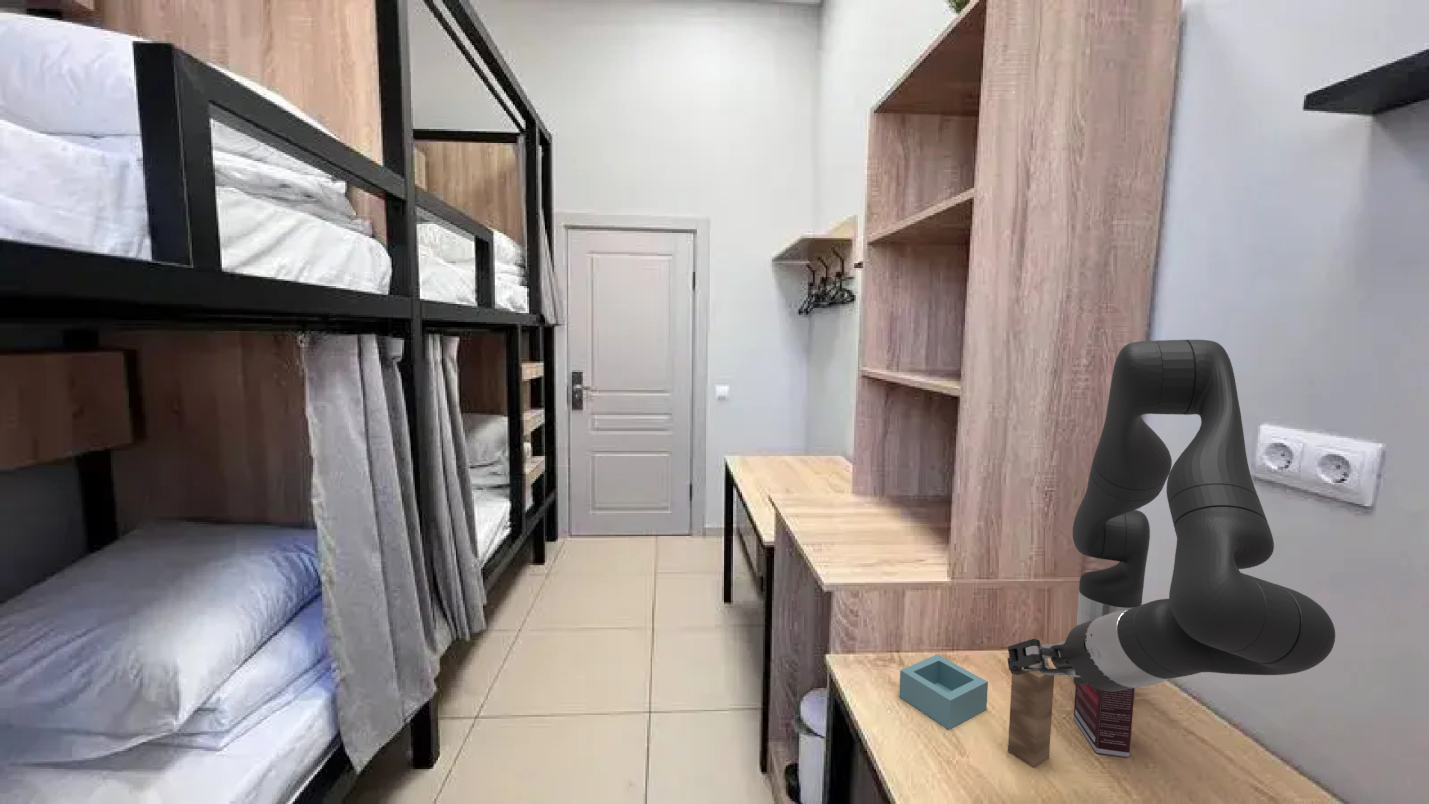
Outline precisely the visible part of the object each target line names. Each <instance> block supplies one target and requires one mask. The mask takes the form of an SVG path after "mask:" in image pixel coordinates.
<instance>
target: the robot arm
mask: <svg viewBox="0 0 1429 804" xmlns="http://www.w3.org/2000/svg"><path fill="white" fill-rule="evenodd" d="M1109 389H1110V390H1109V395H1108V400H1107V401H1108V403H1107V406H1106V407H1107V408H1106V414H1105V418H1104V419H1105V420H1104V425H1103V427H1102V431H1101V434H1100V436H1099V437H1100V438H1099V440H1098V445H1097V446H1096V449H1095V452H1094V456H1093V458H1092V463H1091V466H1090V467H1091V468H1090V473H1089V477H1088V482H1087V487H1086V490H1085V493H1084V496H1083V498H1082V500H1081V501H1080V505H1079V507H1078V509H1077V511H1076V514H1075V517H1074V521H1073V526H1072V541H1073V544H1074V546H1075V548H1076V550H1077V551H1078V552H1079V553H1080V554H1082V555H1084V556H1086V557H1090V558H1094V559H1100V560H1108V561H1114V562H1118V563H1117V564H1115V565H1113V566H1110V567H1106V568H1104V569H1098V570H1092V571H1088V572H1084V573H1083V574H1082V575H1081V576H1080V578H1079V584H1078V601H1077V614H1076V616H1077V617H1076V618H1077V619H1076V625H1075V626H1074V627H1072V629H1071V630H1070V631H1069V633H1068V635H1067V636H1066V639H1065V640H1061V641H1059V642H1058V643H1044V644H1041V641H1040V640H1039V639H1036V638H1032V639H1028V640H1025V641H1022V642H1018V643H1016V644H1012V645H1009V646H1007V651H1008V658H1007V666H1008V671H1010V673H1011V675H1012V674H1015V675H1019V674H1023V673H1026V672H1030V671H1040V672H1041V673H1043V674H1045V675H1054V676H1067V677H1069V678H1072V680H1073V684H1074V685H1075V686H1076V685H1086V684H1090V685H1091V686H1093V687H1095V688H1097V689H1100V690H1103V691H1108V692H1116V691H1121V690H1127V689H1133V688H1135V689H1137V688H1143V687H1149V686H1154V685H1158V684H1162V683H1164V682H1166V681H1168V680H1172V679H1176V678H1181V677H1187V676H1192V675H1196V674H1197V675H1198V674H1200V673H1215V674H1216V673H1217V674H1226V675H1227V674H1228V675H1247V676H1248V675H1250V676H1251V675H1252V676H1254V675H1255V676H1283V675H1285V676H1286V675H1291V674H1297V673H1302V672H1305V671H1308V670H1311V669H1312V668H1315V666H1318V665H1320V663H1322V662H1323V661H1324V660H1325V659H1326V658H1327V657H1328V656H1329V655H1330V653H1331V652H1332V651H1333V648H1334V646H1335V645H1334V644H1335V642H1336V629H1335V625H1334V623H1333V620H1332V619H1331V617H1330V615H1329V614H1328V612H1327V610H1325V609H1324V608H1323V607H1322V606H1321V605H1320V604H1319V603H1318V602H1317V601H1316V600H1314V599H1312V598H1311V597H1309V596H1307V595H1306V594H1304V593H1301V592H1299V591H1297V590H1294V589H1293V588H1289V587H1286V586H1283V585H1280V584H1278V583H1277V584H1276V583H1273V582H1270V581H1269V580H1264V579H1262V578H1259V577H1255V576H1252V575H1250V574H1247V573H1243V572H1241V571H1240V570H1244V569H1251V568H1254V567H1255V568H1256V567H1258V566H1260V565H1262V564H1264V563H1265V562H1266V561H1268V560H1269V559H1270V558H1271V556H1272V555H1273V553H1274V550H1275V543H1274V539H1273V538H1274V537H1273V533H1272V531H1271V528H1270V525H1269V522H1268V518H1267V517H1266V513H1265V511H1264V508H1263V505H1262V503H1261V500H1260V498H1259V495H1258V493H1257V490H1256V488H1255V485H1254V481H1253V477H1252V475H1251V471H1250V467H1249V463H1248V462H1249V461H1248V458H1247V456H1248V455H1247V452H1246V443H1245V442H1246V441H1245V435H1244V434H1245V433H1244V427H1243V420H1242V414H1241V413H1242V412H1241V408H1240V403H1239V396H1238V390H1237V389H1238V388H1237V383H1236V377H1235V373H1234V367H1233V365H1232V362H1231V358H1230V356H1229V354H1228V352H1227V350H1226V349H1225V348H1224V347H1223V346H1222V344H1220V343H1219V342H1216V341H1215V340H1208V339H1163V340H1162V339H1161V340H1140V341H1135V342H1130V343H1127V344H1125V345H1124V346H1123V347H1122V348H1121V350H1120V351H1119V352H1118V355H1117V356H1116V360H1115V361H1114V365H1113V369H1112V374H1111V382H1110V388H1109ZM1142 415H1179V416H1180V415H1184V416H1192V415H1197V416H1199V417H1200V421H1201V422H1200V427H1199V428H1198V429H1199V430H1198V431H1197V433H1196V434H1195V436H1194V438H1193V439H1192V440H1191V442H1189V444H1188V445H1187V446H1186V448H1184V450H1183V451H1182V452H1181V453H1180V455H1179V456H1178V458H1177V459H1176V461H1175V462H1174V464H1173V463H1172V462H1173V459H1172V456H1171V453H1170V450H1169V449H1168V447H1167V446H1166V445H1167V444H1166V443H1165V442H1164V441H1163V440H1162V439H1161V437H1160V436H1159V435H1158V434H1157V433H1156V431H1154V430H1153V429H1152V428H1151V427H1150V426H1149V425H1148V424H1147V423H1146V422H1145V420H1144V419H1143V418H1142ZM1172 464H1173V465H1172ZM1165 484H1166V491H1165V492H1166V498H1167V502H1168V508H1169V512H1170V515H1171V520H1172V523H1173V527H1174V532H1175V535H1176V547H1175V553H1174V562H1173V563H1174V564H1173V570H1172V576H1171V582H1170V586H1169V593H1168V594H1169V596H1168V598H1160V599H1155V600H1153V601H1149V602H1146V603H1143V595H1144V594H1143V593H1144V587H1145V586H1144V585H1145V574H1146V567H1147V559H1148V553H1149V548H1150V540H1151V539H1150V538H1151V527H1150V522H1149V519H1148V517H1147V515H1146V514H1145V513H1144V512H1143V511H1140V510H1138V509H1140V508H1142V507H1144V506H1146V505H1149V504H1150V503H1152V502H1153V501H1154V500H1155V499H1156V498H1157V497H1158V496H1159V495H1160V493H1161V492H1162V490H1163V489H1164V486H1165ZM1142 603H1143V604H1142ZM1048 659H1050V661H1051V663H1052V665H1053V666H1054V668H1053V669H1050V668H1051V667H1050V665H1049V660H1048ZM1035 664H1038V665H1035ZM1049 667H1050V668H1049ZM1135 696H1136V691H1135V692H1134V698H1135Z"/></svg>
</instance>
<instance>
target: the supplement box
mask: <svg viewBox="0 0 1429 804" xmlns="http://www.w3.org/2000/svg"><path fill="white" fill-rule="evenodd" d="M1074 689H1075V691H1074V706H1073V720H1074V721H1075V723H1076V725H1077V726H1078V728H1079V729H1080V731H1081V732H1082V734H1083V735H1084V737H1085V738H1086V740H1087V741H1088V742H1089V744H1090V745H1091V747H1092V749H1093V750H1094V751H1095V752H1096V754H1101V755H1102V754H1103V755H1108V756H1115V757H1123V758H1129V757H1130V755H1131V753H1130V751H1131V738H1132V728H1133V727H1132V726H1133V714H1134V701H1135V697H1134V692H1135V693H1136V688H1133V689H1127V690H1121V691H1116V692H1108V691H1103V690H1100V689H1097V688H1095V687H1093V686H1091V685H1090V684H1086V685H1076V684H1075V688H1074Z"/></svg>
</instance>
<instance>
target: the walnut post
mask: <svg viewBox="0 0 1429 804" xmlns="http://www.w3.org/2000/svg"><path fill="white" fill-rule="evenodd" d="M1035 665H1038V664H1035ZM1049 668H1050V669H1054V668H1053V667H1050V666H1049ZM1054 685H1055V675H1045V674H1043V673H1041V672H1040V671H1030V672H1026V673H1023V674H1019V675H1015V674H1011V687H1010V706H1009V722H1008V724H1009V725H1008V739H1007V741H1008V742H1007V743H1008V744H1007V752H1008V753H1009V754H1011V755H1012V756H1014V757H1015V758H1017V759H1019V760H1020V761H1022V762H1024V763H1025V764H1027V765H1028V766H1029V767H1031V768H1033V769H1035V768H1037V767H1038V766H1040V765H1041V764H1043V763H1044V762H1046V761H1048V759H1050V749H1051V734H1052V720H1053V719H1052V715H1053V699H1054V687H1055V686H1054Z"/></svg>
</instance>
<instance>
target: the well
mask: <svg viewBox="0 0 1429 804" xmlns="http://www.w3.org/2000/svg"><path fill="white" fill-rule="evenodd" d="M899 672H900V673H899V696H898V697H899V699H902V701H905V702H906V703H908V704H909V705H911V706H912V707H914V709H916V710H917V711H920V712H921V713H922V714H924V715H926V716H927V717H928V718H930V719H932V720H933V721H935V722H936V723H937V724H939V725H940V726H942V727H944V728H946V729H947V730H948V731H949V730H951V729H954V728H955V727H958V726H959V725H960V724H963V723H965V722H966V721H968V720H970V719H971V718H974V717H975V716H978V715H979V714H981V713H984V711H986V710H987V709H988V708H987V706H988V705H987V704H988V690H989V689H988V686H989V682H988V681H987V680H986V679H984V678H982V677H980V676H978V675H976V674H974V673H973V672H971V671H969V670H967V669H965V668H964V667H962V666H960V665H958V664H957V663H955V662H953V661H950V660H949V659H947V658H945V657H943V656H941V655H939V654H937V653H936V654H935V655H932V656H930V657H928V658H925V659H923V660H920V661H918V662H916V663H914V664H911V665H909V666H906V667H905V668H902V669H900V671H899Z"/></svg>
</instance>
